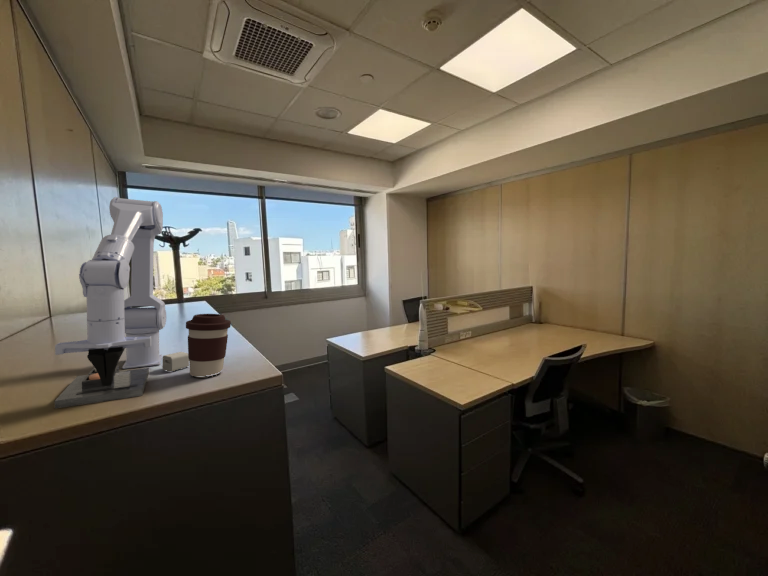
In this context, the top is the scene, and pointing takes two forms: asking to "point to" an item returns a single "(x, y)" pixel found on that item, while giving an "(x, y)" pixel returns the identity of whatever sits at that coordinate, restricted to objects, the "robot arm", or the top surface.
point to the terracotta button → (94, 376)
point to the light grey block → (122, 379)
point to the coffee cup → (207, 343)
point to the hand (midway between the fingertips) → (107, 384)
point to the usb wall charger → (175, 361)
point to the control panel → (101, 389)
